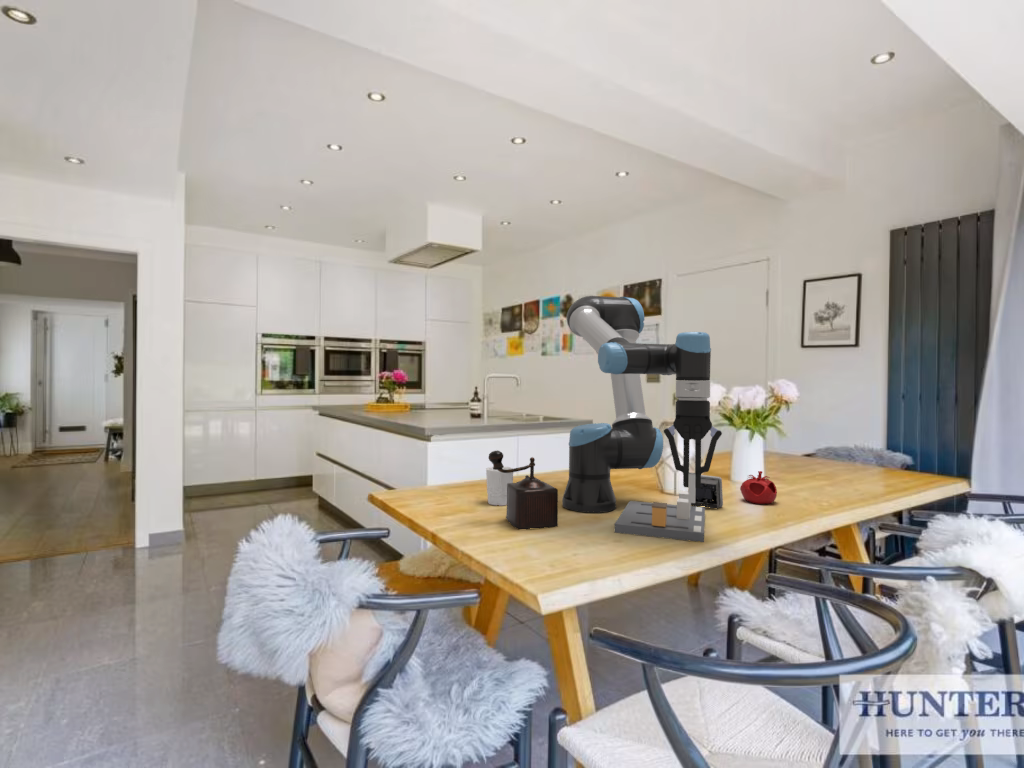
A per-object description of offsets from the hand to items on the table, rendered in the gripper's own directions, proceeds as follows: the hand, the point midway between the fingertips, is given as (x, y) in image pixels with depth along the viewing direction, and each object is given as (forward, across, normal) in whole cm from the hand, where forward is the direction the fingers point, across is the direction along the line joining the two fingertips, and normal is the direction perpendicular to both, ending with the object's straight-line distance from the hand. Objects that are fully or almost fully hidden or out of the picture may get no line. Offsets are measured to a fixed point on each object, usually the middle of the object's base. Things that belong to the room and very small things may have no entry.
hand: (691, 501), depth 124 cm
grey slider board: (+8, -7, +10) cm, 15 cm away
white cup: (+8, -53, +14) cm, 56 cm away
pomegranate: (+8, +18, +46) cm, 50 cm away
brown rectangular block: (+6, -7, 0) cm, 9 cm away
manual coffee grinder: (+8, -40, -4) cm, 41 cm away
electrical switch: (+8, +3, +34) cm, 35 cm away
